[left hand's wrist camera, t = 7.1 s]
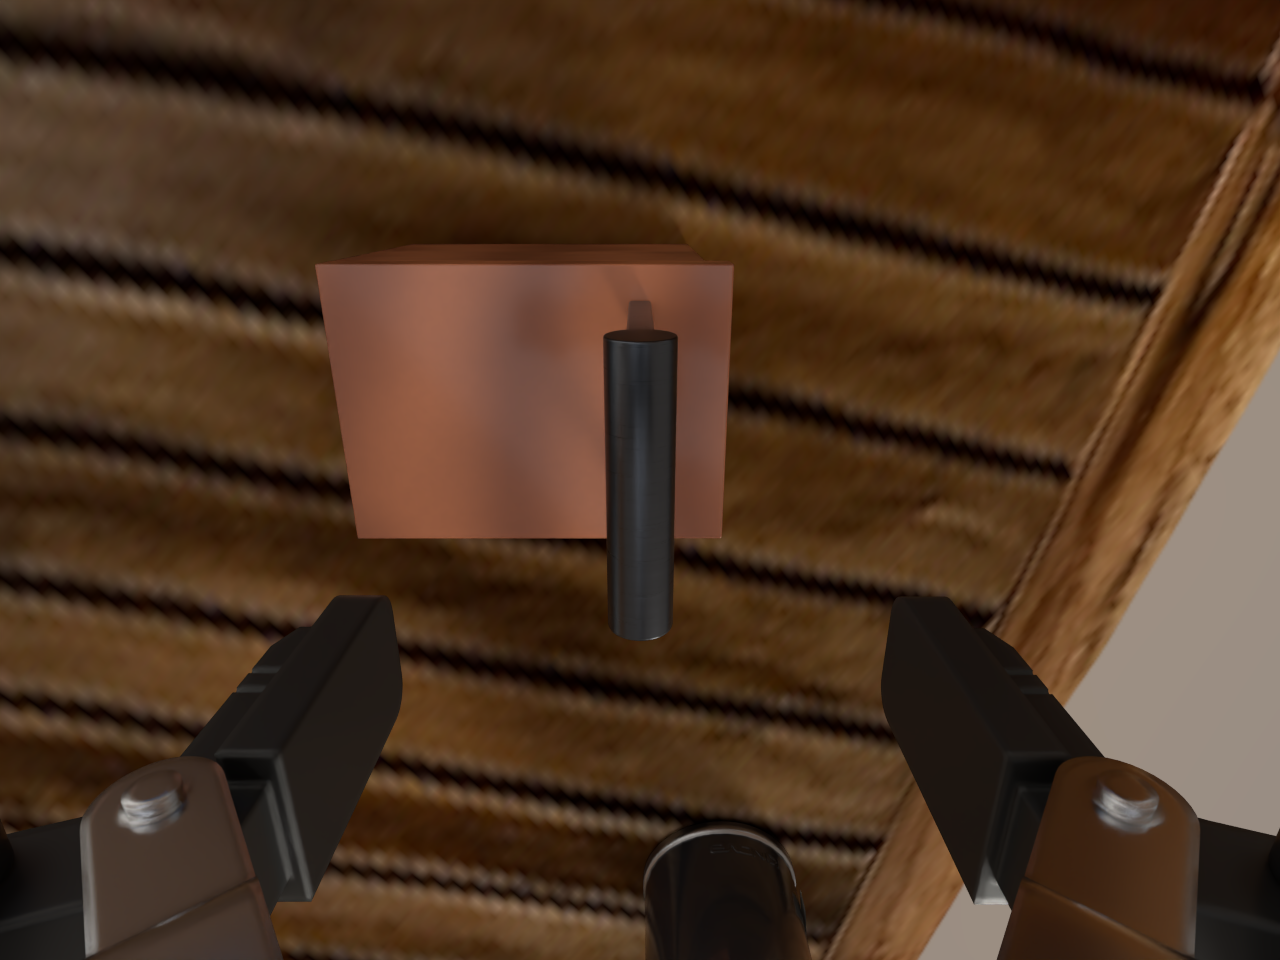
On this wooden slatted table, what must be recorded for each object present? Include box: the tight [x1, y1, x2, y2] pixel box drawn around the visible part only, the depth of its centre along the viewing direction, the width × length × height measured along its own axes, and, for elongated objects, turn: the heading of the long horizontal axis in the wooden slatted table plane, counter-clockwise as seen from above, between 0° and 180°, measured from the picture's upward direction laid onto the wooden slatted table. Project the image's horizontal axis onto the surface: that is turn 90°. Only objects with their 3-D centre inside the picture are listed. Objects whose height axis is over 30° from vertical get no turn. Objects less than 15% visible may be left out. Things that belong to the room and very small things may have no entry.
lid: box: [315, 261, 734, 641], centre depth 21 cm, size 13×9×9 cm
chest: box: [335, 244, 704, 261], centre depth 29 cm, size 12×9×9 cm
